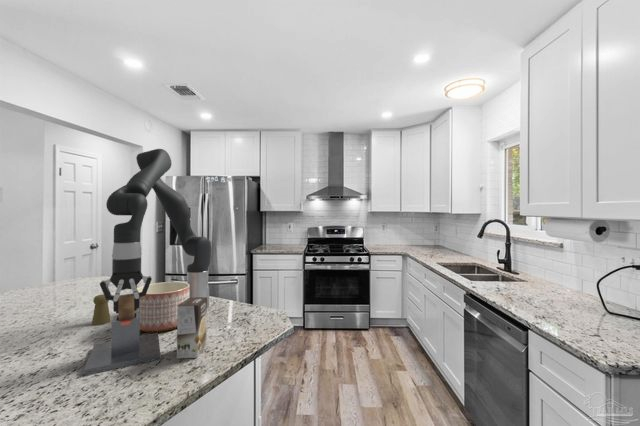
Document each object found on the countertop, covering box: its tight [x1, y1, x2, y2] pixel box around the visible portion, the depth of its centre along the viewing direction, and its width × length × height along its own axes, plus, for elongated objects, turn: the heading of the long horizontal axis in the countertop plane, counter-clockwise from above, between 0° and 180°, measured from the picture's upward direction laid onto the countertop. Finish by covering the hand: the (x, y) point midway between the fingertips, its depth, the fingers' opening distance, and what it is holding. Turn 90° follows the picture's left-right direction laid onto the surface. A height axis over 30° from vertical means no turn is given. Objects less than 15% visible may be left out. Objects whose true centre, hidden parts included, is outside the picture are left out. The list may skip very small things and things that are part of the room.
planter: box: [134, 281, 190, 333], centre depth 113 cm, size 19×19×15 cm
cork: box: [91, 293, 112, 326], centre depth 115 cm, size 6×6×11 cm
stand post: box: [117, 292, 135, 320], centre depth 89 cm, size 4×4×16 cm
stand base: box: [83, 312, 161, 376], centre depth 89 cm, size 18×18×12 cm
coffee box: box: [176, 297, 208, 359], centre depth 91 cm, size 9×6×16 cm
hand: (126, 311), depth 89 cm, fingers closed on stand post, 4 cm apart
